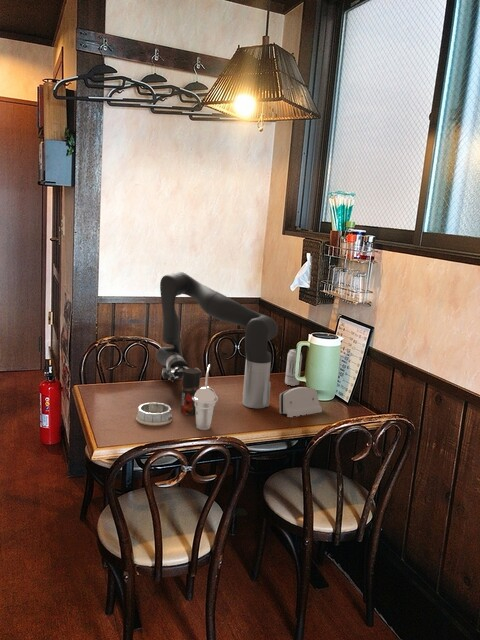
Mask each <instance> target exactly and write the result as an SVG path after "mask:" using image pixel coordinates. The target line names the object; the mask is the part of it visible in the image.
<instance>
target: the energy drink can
mask: <svg viewBox="0 0 480 640" xmlns="http://www.w3.org/2000/svg"><path fill="white" fill-rule="evenodd" d="M296 350H297V349H295V348H294V349H292V348H291V349H289V351H288V353H287V359H286V368H285V369H286V370H285V378H284V384H285V385H286V384H287V385H291V386H295V385H298V386H299V385H300V380H299V381H298V380H296V379H295V373H294V372H295V361H296ZM302 360H303V354H302V353H301V355H300V364H299V376H300V377H301V369H302ZM287 385H286V386H287Z"/></svg>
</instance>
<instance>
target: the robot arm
mask: <svg viewBox="0 0 480 640" xmlns="http://www.w3.org/2000/svg"><path fill="white" fill-rule="evenodd" d="M159 284H160V285H159V288H160V290H159V292H160V298H161V309H162V321H163V322H162V338H161V339H162V342H163V343H164V344H166V345H171V346H161V347H160V348H158V349H157V352H156V359H157V362H158V363H159V364H160V365H162V366H164V367H162V369H161V371H162V372H161V376H162V378H163V380H167V379H168V380H170V382H172V383H175V382H176V381H175V379H176V380H182V379H183V370H184V369H189V368H190V366H189V365H188V363H187V362H186V360H185V359H184V357H183V352H182V347H181V343H180V340H181V339H180V335H181V321H180V318H179V316H178V314H177V311H176V307H175V306H176V305H175V304H176V298H177V297H178V296H181V295H186V296H187V297H190V298H192V299H194V300H196V302H197V303H198V305H199V306H200V308H201V309H202V311H203V312H205V313H206V314H208V315H210V316H211V317H212V318H215V319H216V320H218V321H220V322H221V321H222V322H225V323H230V324H232V325H233V324H234V325H236V326H237V325H238V326H241V327H243V328H245V330H244V331H245V332H244V353H245V365H244V379H243V388H242V389H243V390H242V405H243V406H245V407H246V408H251V409H264V408H267V407H270V395H271V386H272V385H271V384H272V382H271V381H270V375H271V365H272V364H271V363H272V353H271V352H269V351H268V343H269V342H268V341H271V340H272V339H274V338H276V337H277V335H278V333H279V327H278V324H277V322H276V321H275V320H274V319H273V318H272V317H270V316H268V315H265V314H262V313H260V312H258V311H255V310H252V309H251V308H249V307H246V306H244V305H243V304H241V303H239V302H237V301H235V300H233V299H232V298H230V297H228V296H227V295H224V294H222V293H221V292H219V291H216V290H215V289H212V288H211V287H209V286H206V284H205V285H204V284H202V283H201V282H199V281H198V280H197V279H195V278H193V277H192V276H190V275H189V274H187V273H186V272H184V271H174V272H171V273H168V274H165V275H163V276H162V277H161V279H160V283H159ZM194 369H198V370H200V369H199V368H198V367H194ZM201 378H202V371H201V370H200V379H201Z"/></svg>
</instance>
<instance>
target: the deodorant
mask: <svg viewBox="0 0 480 640" xmlns="http://www.w3.org/2000/svg"><path fill="white" fill-rule="evenodd" d="M198 369H199V368H198ZM198 369H195V368H190V367H189V369H184V370H183V378H182V383H181V384H182V387H181V400H180V401H181V402H180V413H181V414H182V415H186V416H196V414H195V404H194V401H193V400H192V397H193V395H194V394H195V392H196V391H197V389H199V388H200V385H201V383H200V381H201V378H200V371H201V369H199V370H198Z"/></svg>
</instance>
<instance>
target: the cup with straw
mask: <svg viewBox="0 0 480 640" xmlns="http://www.w3.org/2000/svg"><path fill="white" fill-rule="evenodd" d="M206 368H207V370H206V371H205V372H206V373H205V380H204V381H205V383H204V384H205V385H204V386H201V387H200V386H199V389H197V391H196V392H195V394H194V395H193V397H192V400H193V401H194V404H195V425H196V426H195V428H196V429H198V430H202V431H207V430H210V428H211V424H212V419H213V413H214V409H215V406H216V402H218V401H219V397H218V396H217V394H216V392H215V389H213V388H212V387H210V386H208V381H209V372H210V369H211V364H208V366H207V367H206Z"/></svg>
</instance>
